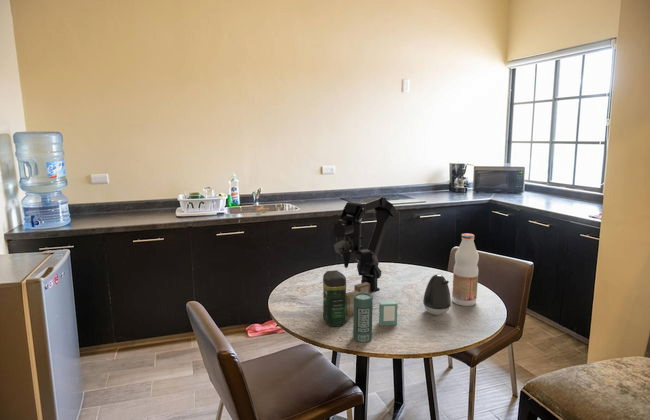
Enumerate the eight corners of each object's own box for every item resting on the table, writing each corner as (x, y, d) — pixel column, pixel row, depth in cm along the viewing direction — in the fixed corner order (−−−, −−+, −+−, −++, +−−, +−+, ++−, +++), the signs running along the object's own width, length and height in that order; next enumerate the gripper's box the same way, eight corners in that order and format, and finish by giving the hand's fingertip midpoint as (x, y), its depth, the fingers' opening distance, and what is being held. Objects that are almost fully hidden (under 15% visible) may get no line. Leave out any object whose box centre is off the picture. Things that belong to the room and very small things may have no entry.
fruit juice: (456, 306, 175) (460, 238, 170) (448, 297, 185) (452, 231, 179) (479, 306, 176) (484, 237, 170) (471, 297, 185) (475, 231, 179)
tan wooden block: (343, 313, 170) (343, 293, 168) (355, 310, 173) (356, 290, 171) (347, 316, 167) (347, 296, 166) (360, 312, 171) (360, 292, 169)
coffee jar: (348, 326, 159) (348, 276, 156) (326, 328, 158) (326, 278, 154) (341, 314, 169) (341, 267, 165) (321, 316, 167) (320, 269, 163)
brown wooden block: (354, 304, 178) (354, 285, 177) (365, 300, 182) (366, 282, 180) (358, 306, 176) (358, 287, 175) (370, 302, 180) (370, 284, 178)
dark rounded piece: (435, 320, 163) (437, 281, 160) (417, 310, 172) (418, 272, 169) (456, 315, 168) (458, 276, 165) (437, 305, 177) (439, 268, 174)
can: (370, 333, 154) (371, 292, 151) (372, 342, 148) (373, 299, 145) (352, 333, 153) (353, 292, 150) (354, 342, 147) (354, 299, 145)
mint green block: (379, 322, 162) (379, 301, 161) (395, 321, 163) (395, 301, 161) (380, 325, 160) (381, 304, 158) (397, 324, 160) (397, 304, 159)
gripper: (324, 231, 182) (323, 267, 185) (351, 240, 167) (350, 280, 169) (346, 228, 188) (345, 263, 191) (374, 237, 173) (373, 275, 176)
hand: (352, 270), depth 182 cm, fingers open, 9 cm apart
